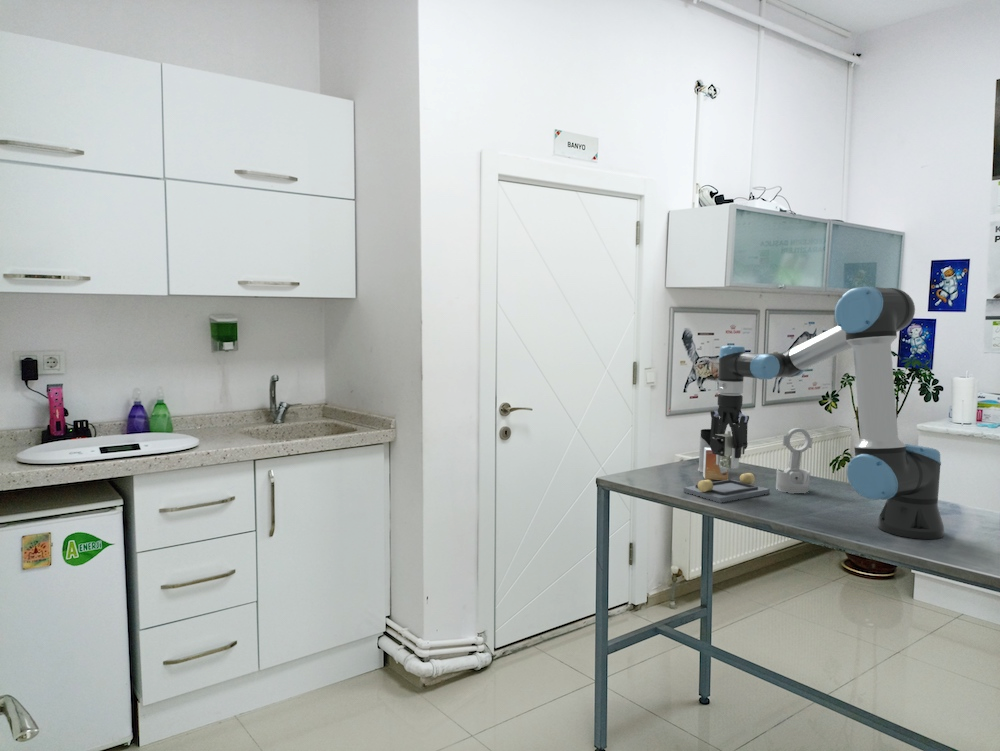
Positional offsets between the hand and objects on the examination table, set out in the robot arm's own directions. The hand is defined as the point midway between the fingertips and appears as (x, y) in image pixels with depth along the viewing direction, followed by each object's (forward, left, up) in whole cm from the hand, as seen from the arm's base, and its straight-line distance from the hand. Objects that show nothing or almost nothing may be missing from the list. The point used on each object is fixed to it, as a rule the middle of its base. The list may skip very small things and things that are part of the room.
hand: (727, 465), depth 224 cm
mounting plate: (0, 0, -9) cm, 9 cm away
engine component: (-8, -23, -9) cm, 26 cm away
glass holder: (+24, -23, -9) cm, 34 cm away
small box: (+16, -13, -9) cm, 22 cm away
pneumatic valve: (0, 0, -1) cm, 1 cm away
